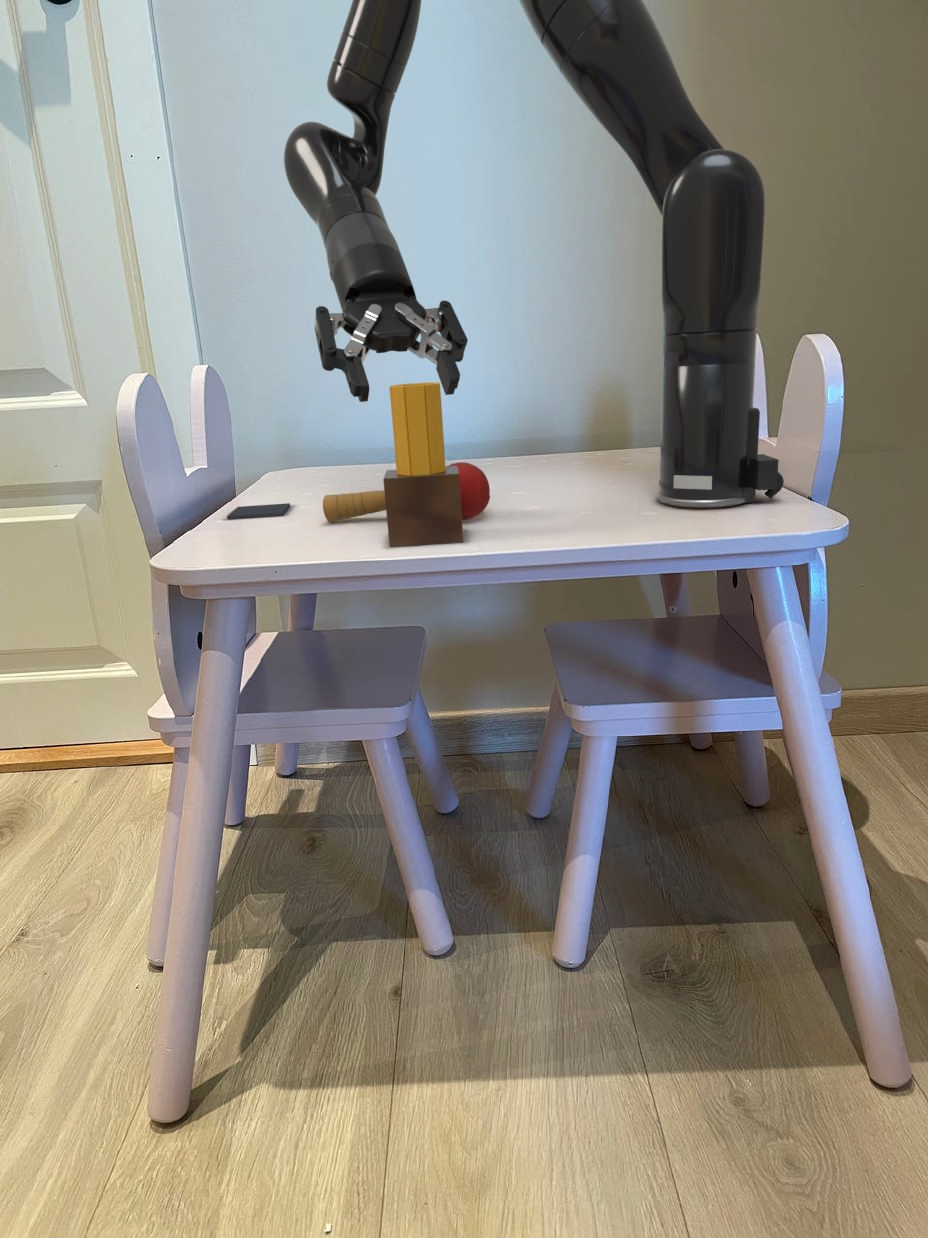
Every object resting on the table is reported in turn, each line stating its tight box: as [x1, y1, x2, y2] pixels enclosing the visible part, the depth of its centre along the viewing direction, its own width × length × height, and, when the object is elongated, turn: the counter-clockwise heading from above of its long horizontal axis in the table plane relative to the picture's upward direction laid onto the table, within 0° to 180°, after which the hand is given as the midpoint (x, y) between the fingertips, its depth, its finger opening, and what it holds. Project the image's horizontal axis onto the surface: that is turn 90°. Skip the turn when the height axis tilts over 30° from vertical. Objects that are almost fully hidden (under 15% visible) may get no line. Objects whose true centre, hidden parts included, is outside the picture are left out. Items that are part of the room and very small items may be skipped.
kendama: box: [322, 461, 491, 523], centre depth 88 cm, size 8×6×18 cm
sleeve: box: [389, 381, 447, 476], centre depth 77 cm, size 5×5×8 cm
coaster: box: [226, 502, 291, 520], centre depth 98 cm, size 6×6×1 cm
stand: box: [383, 465, 464, 548], centre depth 79 cm, size 7×5×12 cm
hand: (409, 392), depth 78 cm, fingers open, 8 cm apart
